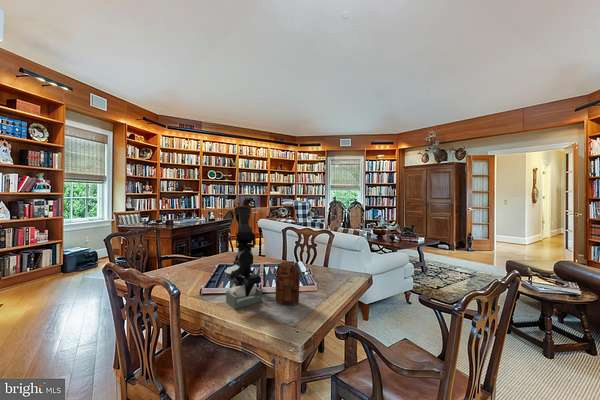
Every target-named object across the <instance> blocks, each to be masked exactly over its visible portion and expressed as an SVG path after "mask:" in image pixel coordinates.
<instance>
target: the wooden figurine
mask: <svg viewBox="0 0 600 400" xmlns="http://www.w3.org/2000/svg"><path fill="white" fill-rule="evenodd" d="M300 276H301V275H300V271H299V269H298V268H297V266H296V265H295V264H294V262H291V261H288V260H287V261H285V260H284V261H281V262H280V263H279V264H278V265H277V267H276V271H275V302H276V303H277V304H279V305H285V306H286V305H287V306H292V305H293V306H297V305H298V304H299V302H300V282H301V277H300Z"/></svg>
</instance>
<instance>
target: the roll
mask: <svg viewBox="0 0 600 400" xmlns="http://www.w3.org/2000/svg"><path fill="white" fill-rule="evenodd" d="M256 287H257V286H256V284H254V286H253V288H252V290H251V292H250V294H249V296H250V295H253V294H255V293H256ZM231 293H232V294H234V295H235V296H237V299H238V298H242V297H246V294H245V285H241V286H238V285H236V286H233V287H232V288H231Z"/></svg>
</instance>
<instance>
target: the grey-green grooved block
mask: <svg viewBox="0 0 600 400" xmlns="http://www.w3.org/2000/svg"><path fill="white" fill-rule="evenodd" d="M255 287H256V293H255V294H253V295H250V296H246V297H242V298H238V299H237V296H235V295H234V294H232V291H230V290H226V291H225V294H226V295H225V303H226V304H227V305H228V306H230V307H231V308H233V309H234V310H236V309H239V308H243V307H246V306H250V305H253V304H257V303H261V302H262V296H263V295H262V294H263V291H262V289H260V288H259V287H257V286H255Z"/></svg>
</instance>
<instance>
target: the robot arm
mask: <svg viewBox="0 0 600 400" xmlns="http://www.w3.org/2000/svg"><path fill="white" fill-rule="evenodd" d="M233 215H234V217H235V220H236V222H237V225H238V227H237V232H235V248H236V249H237V254H236V255H235V257H234V260H233V265H232V266H230V267H228V268H227V269H225V270H224V275H225V276H226V279H228V280H230V281H232V280H233V284H235V285H236V284H237V285H236V286H241V285H245V294H246V296H249V294H250V292H251V290H252V288H253V286H254V285H257V284H261V283H262V277H261V276H260V275H258V274H256V273H254V270H252V265H253V264H254V256H253V255H254V254H253V252H252V249H254V248H255V246H256V243H257V242H256V241H257V240H256V235H255V232H253V228H252V226H250V222H249V221H250V216H252V207H249V206H248V205H239V206H236V207H234V209H233Z"/></svg>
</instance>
